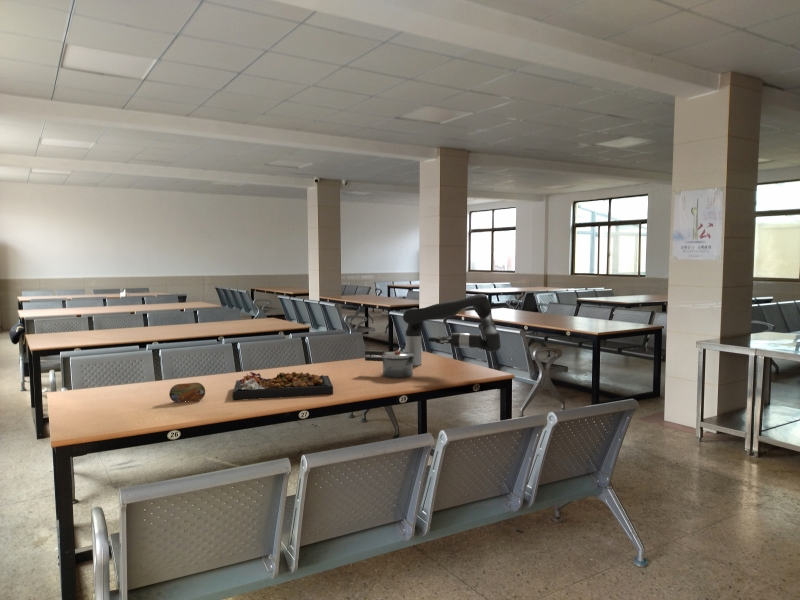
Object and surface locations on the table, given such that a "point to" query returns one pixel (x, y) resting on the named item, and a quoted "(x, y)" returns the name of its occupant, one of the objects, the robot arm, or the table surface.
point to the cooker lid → (391, 354)
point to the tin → (187, 392)
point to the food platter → (282, 386)
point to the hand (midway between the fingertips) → (428, 339)
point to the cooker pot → (395, 367)
